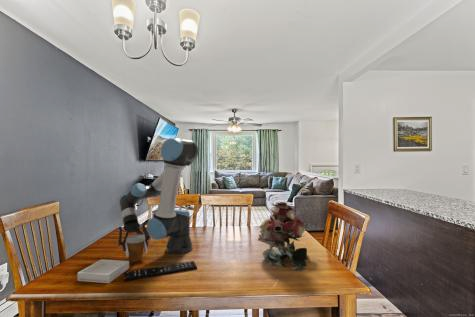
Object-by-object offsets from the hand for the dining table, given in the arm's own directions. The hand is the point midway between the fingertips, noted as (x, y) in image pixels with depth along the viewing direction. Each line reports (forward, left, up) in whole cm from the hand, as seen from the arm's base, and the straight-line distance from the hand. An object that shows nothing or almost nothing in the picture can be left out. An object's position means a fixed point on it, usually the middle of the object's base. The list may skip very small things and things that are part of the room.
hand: (137, 254), depth 128 cm
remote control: (-18, +9, -5) cm, 20 cm away
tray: (+7, +16, -4) cm, 17 cm away
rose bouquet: (-74, -15, -4) cm, 76 cm away
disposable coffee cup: (+2, -2, -4) cm, 5 cm away
